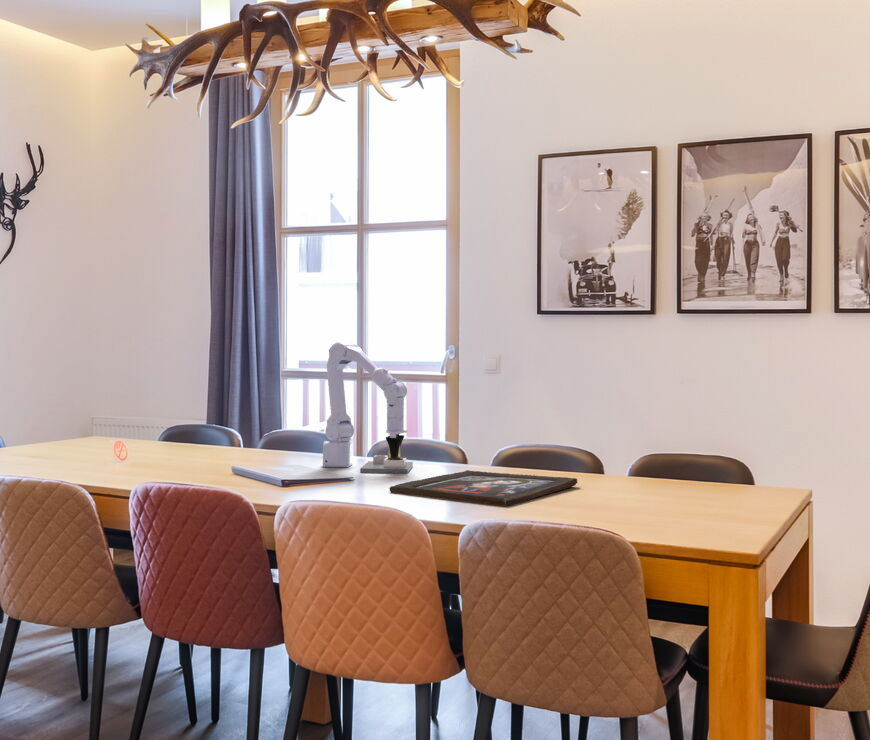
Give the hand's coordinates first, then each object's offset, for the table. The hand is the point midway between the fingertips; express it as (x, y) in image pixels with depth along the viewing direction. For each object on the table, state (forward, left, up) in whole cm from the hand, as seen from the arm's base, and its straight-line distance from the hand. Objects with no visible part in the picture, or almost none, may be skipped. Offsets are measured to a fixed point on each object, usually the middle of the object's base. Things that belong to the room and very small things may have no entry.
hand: (395, 457), depth 300 cm
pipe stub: (0, 0, -2) cm, 2 cm away
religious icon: (+32, -39, -6) cm, 50 cm away
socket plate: (-3, +3, -5) cm, 6 cm away
